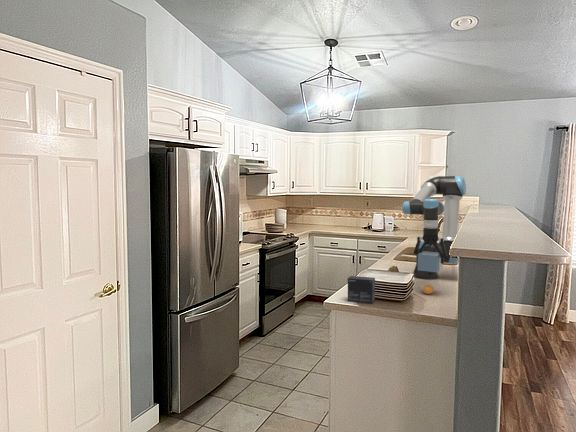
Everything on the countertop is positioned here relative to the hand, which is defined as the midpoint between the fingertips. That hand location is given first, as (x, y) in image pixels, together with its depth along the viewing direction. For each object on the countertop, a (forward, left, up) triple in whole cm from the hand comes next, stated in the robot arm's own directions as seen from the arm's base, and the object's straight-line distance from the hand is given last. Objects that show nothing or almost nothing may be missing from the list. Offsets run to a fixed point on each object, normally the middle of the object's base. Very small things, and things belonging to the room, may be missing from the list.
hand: (430, 268), depth 228 cm
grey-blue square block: (0, 0, -1) cm, 1 cm away
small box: (+33, -25, -14) cm, 44 cm away
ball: (+2, 0, -11) cm, 12 cm away
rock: (-16, -28, -14) cm, 35 cm away
